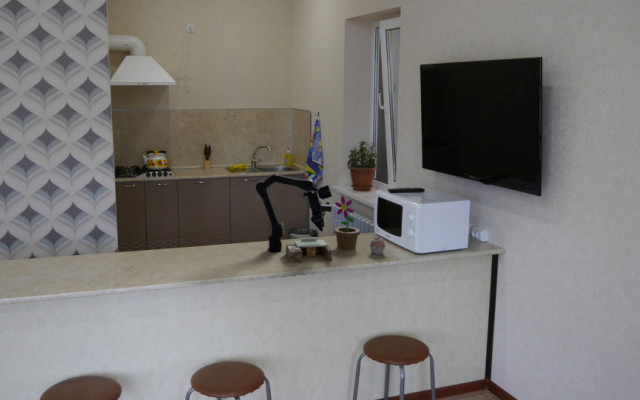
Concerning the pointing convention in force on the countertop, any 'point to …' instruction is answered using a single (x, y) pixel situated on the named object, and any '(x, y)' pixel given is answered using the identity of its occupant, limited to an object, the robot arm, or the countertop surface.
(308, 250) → the block
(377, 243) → the cupcake
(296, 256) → the puzzle board
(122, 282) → the countertop surface
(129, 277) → the countertop surface
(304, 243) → the sliding cover
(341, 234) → the flowerpot
